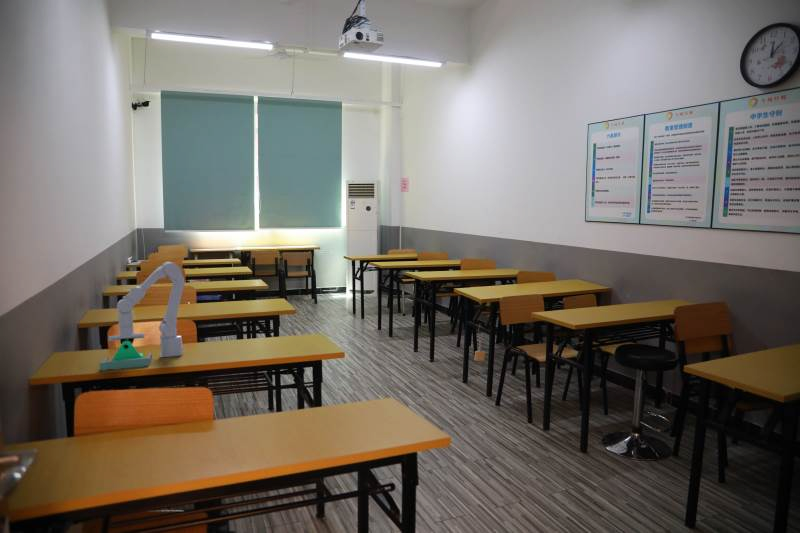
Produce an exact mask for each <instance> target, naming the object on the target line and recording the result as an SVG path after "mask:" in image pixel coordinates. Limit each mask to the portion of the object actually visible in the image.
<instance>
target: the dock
mask: <svg viewBox="0 0 800 533" xmlns="http://www.w3.org/2000/svg"><path fill="white" fill-rule="evenodd" d="M152 360H153V353H152V352H149V353H147V357H143V358H137V359H127V360H117V361H112V360H109V357H107V356H106V357H104V359H103V360H102V361H100V362H99V371H100V370H103V371H108V370H107V369H113V370H120V369H121V368H123V369H130V368H131V367H132V368H139V367H141V368H142V367H149V366H150V364H151V362H152ZM132 368H131V369H132ZM121 370H122V369H121Z"/></svg>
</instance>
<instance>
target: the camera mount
mask: <svg viewBox="0 0 800 533" xmlns="http://www.w3.org/2000/svg"><path fill="white" fill-rule="evenodd" d="M124 345H128V346H129V347H128V348H126V347H124ZM137 358H144V353H140V352H139V351H138V350H137V348H136V347H135V346H134V345H133V344H132V343H131V342H130V341H124V342H123V343H122V344H121V343H120V346H119V348H118V350H117V351H116V352H115V354H114V356H113V357H112V359H111V361H117V360H127V359H137Z"/></svg>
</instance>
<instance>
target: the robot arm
mask: <svg viewBox="0 0 800 533" xmlns="http://www.w3.org/2000/svg"><path fill="white" fill-rule="evenodd" d="M167 277H168V278H169V280H170V281H171V282H172V285H171V290H170V294H169V297H168V298H169V299H168V302H167V306H166V307H167V308H166V311H165V315H164V317H163V319H162V322H161V323H160V324H159V326H158V327H159V328H158V329H159V332H160V333H161V334H160V336H159V337H160V350H161V352H160V356H159V358H165V357H166V358H168V357H169V358H170V357H177V356H183V351H184V346H183V339H182V335H177V333H178V328H177V323H178V322H177V321H178V319H177V317H178V313H179V308H180V304H181V298H182V294H183V292H184V291H183V290H184V286H185V283H186V282H185V281H186V280H185V278H184V275H183V273H182V268H180V267H179V266H178V265H177V264H176V263H175V262H172V261H164V262H163V263H162V265H160V266H158V267H157V268H156V269H155V270H154V271H153V272H152V273H151V274H150V275H149V276H148V277H147V278H146V279H145V280H144V281H143V282H142V283H141V284H140V285H139V286H138V285H137V286H134V287H131V288H130V290H129V292H128V293H127V294H126V295H123V296H122V299H120V300H119V301H118V302H117V305H116V309H117V310H118V317H117V319H118V330H119V334H117V335H116V334H115V335H111V336H110V335H108V342H114V341H119V344H120V345H121V344H122V343H123V342H124V341H130V342H131V343H132V345H133V343H134V341H135V340H137V339H145V337H146V336H145V333H144V332H143V333H134V332H135V331H134V320H133V312H132V310H133V308H134V306H135V305H136V304H138V303H139V302H140V301H141V300H142V299H143V298H144V297H145V296H146V291H147V290H148V289H150V287H152V286H153V285H154V284H155V283H156V282H157V281H158V280H159V279H164V278H167ZM124 347H126V348H128V347H129V346H128V345H124Z"/></svg>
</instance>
